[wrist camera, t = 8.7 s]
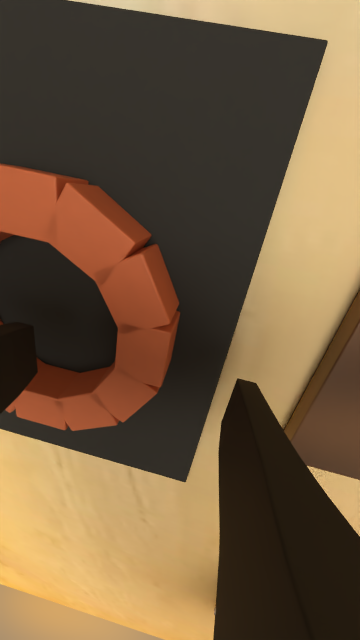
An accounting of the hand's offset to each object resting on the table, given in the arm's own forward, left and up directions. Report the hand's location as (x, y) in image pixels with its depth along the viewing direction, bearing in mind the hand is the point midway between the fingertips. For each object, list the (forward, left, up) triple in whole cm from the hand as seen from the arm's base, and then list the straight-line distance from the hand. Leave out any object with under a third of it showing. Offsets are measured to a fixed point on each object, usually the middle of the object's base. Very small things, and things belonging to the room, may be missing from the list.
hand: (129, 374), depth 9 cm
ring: (0, +5, -3) cm, 5 cm away
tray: (0, +5, -3) cm, 6 cm away
